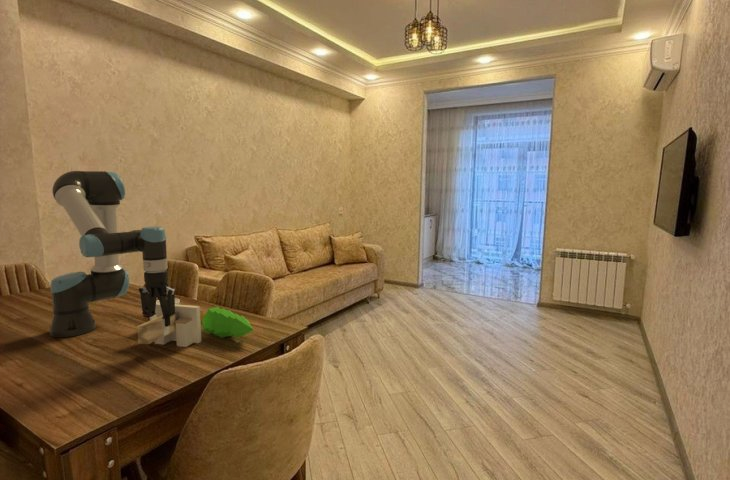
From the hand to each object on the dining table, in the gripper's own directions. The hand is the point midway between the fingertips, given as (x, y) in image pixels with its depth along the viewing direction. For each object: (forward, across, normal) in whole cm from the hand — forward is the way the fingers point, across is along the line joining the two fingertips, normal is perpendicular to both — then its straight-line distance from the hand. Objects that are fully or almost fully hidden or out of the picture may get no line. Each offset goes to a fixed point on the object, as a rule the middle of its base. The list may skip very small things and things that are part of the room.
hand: (160, 334), depth 143 cm
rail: (0, 0, 0) cm, 0 cm away
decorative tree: (+7, +16, +17) cm, 24 cm away
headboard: (+6, -1, +8) cm, 10 cm away
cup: (+6, -14, +22) cm, 27 cm away
